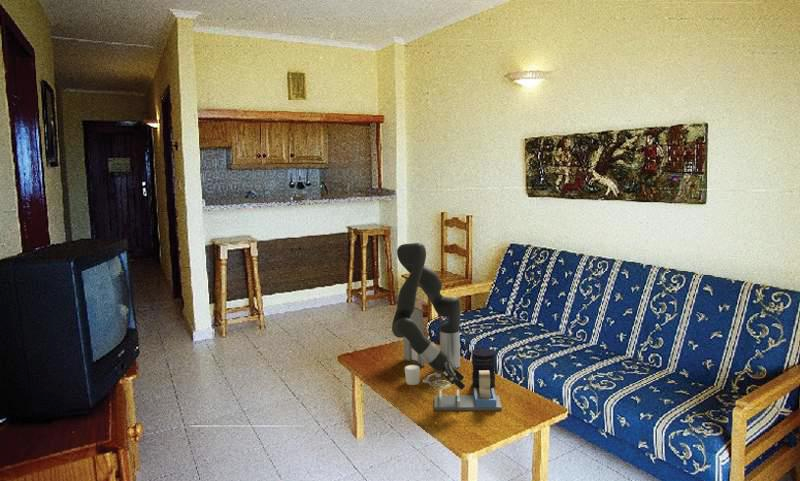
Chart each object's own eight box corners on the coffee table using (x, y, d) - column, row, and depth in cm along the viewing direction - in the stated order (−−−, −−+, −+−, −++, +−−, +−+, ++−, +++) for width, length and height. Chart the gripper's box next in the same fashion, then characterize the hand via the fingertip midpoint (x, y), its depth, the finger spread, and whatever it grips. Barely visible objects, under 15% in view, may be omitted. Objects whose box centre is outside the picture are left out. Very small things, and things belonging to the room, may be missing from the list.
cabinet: (424, 366, 254) (422, 309, 251) (404, 367, 255) (402, 310, 251) (422, 351, 275) (421, 298, 271) (404, 352, 275) (402, 299, 272)
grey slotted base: (434, 398, 219) (434, 388, 218) (498, 398, 217) (498, 388, 216) (434, 410, 208) (434, 400, 208) (501, 410, 206) (501, 399, 205)
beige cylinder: (422, 380, 238) (421, 365, 237) (417, 386, 232) (417, 370, 231) (407, 378, 240) (407, 363, 240) (402, 384, 234) (402, 369, 233)
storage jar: (500, 386, 229) (499, 345, 226) (481, 391, 224) (481, 350, 222) (485, 378, 237) (484, 339, 235) (467, 383, 233) (466, 343, 230)
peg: (479, 399, 214) (478, 370, 212) (489, 399, 213) (489, 370, 212) (480, 403, 210) (479, 374, 208) (490, 403, 210) (489, 374, 208)
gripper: (439, 355, 203) (470, 384, 204) (439, 343, 217) (468, 370, 218) (426, 368, 204) (456, 397, 205) (427, 356, 218) (455, 382, 219)
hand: (462, 383), depth 211 cm, fingers open, 8 cm apart
